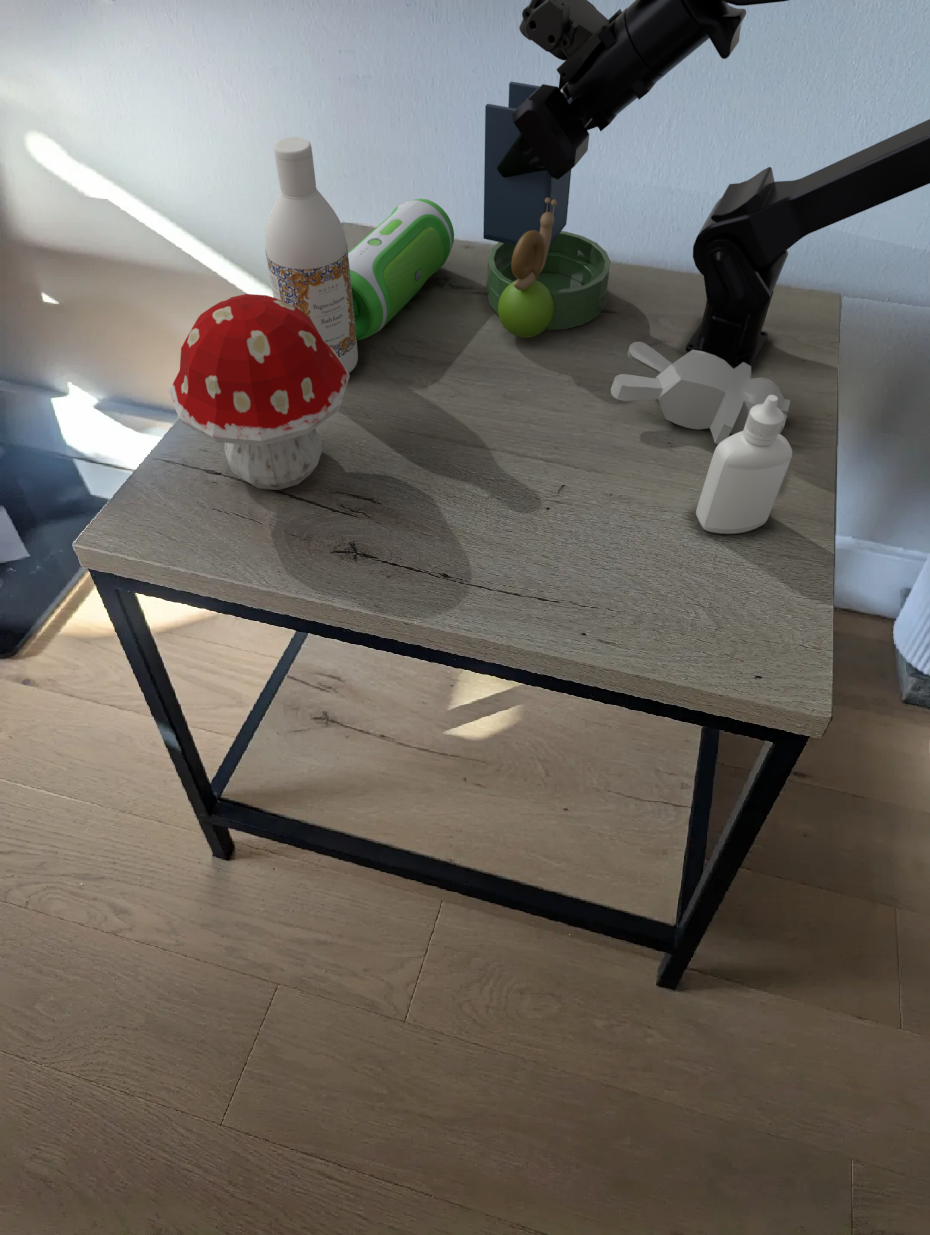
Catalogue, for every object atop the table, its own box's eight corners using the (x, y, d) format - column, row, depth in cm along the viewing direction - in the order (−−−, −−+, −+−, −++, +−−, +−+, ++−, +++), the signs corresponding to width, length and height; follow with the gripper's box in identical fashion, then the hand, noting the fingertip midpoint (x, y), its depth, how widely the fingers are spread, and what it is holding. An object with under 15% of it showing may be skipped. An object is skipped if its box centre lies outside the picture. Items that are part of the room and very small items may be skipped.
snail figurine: (565, 323, 87) (579, 205, 78) (534, 355, 84) (544, 235, 75) (519, 307, 89) (526, 189, 80) (486, 337, 86) (490, 218, 76)
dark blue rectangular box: (566, 224, 87) (578, 92, 77) (545, 252, 83) (555, 117, 74) (506, 212, 88) (511, 81, 79) (483, 238, 85) (485, 105, 76)
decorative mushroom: (247, 399, 80) (211, 242, 68) (385, 435, 76) (373, 277, 65) (161, 496, 71) (104, 337, 60) (312, 542, 68) (283, 382, 57)
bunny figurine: (787, 431, 71) (614, 372, 73) (762, 476, 75) (599, 419, 77) (802, 367, 77) (641, 314, 78) (779, 412, 81) (626, 361, 83)
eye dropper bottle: (762, 546, 68) (810, 425, 59) (691, 529, 69) (728, 407, 60) (768, 510, 71) (816, 388, 62) (700, 494, 72) (736, 372, 63)
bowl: (519, 259, 96) (521, 219, 92) (622, 288, 92) (628, 248, 88) (466, 313, 89) (466, 272, 85) (575, 347, 85) (580, 305, 82)
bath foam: (306, 394, 80) (270, 172, 65) (273, 357, 84) (232, 138, 68) (371, 370, 83) (352, 150, 67) (337, 334, 86) (311, 118, 71)
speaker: (379, 355, 84) (374, 284, 78) (315, 336, 86) (305, 265, 80) (458, 270, 94) (458, 201, 88) (399, 254, 96) (395, 186, 90)
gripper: (624, -84, 72) (497, 47, 83) (545, -21, 61) (411, 120, 73) (697, 39, 76) (567, 148, 87) (634, 118, 65) (495, 231, 77)
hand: (513, 158), depth 81 cm, fingers closed on dark blue rectangular box, 6 cm apart
